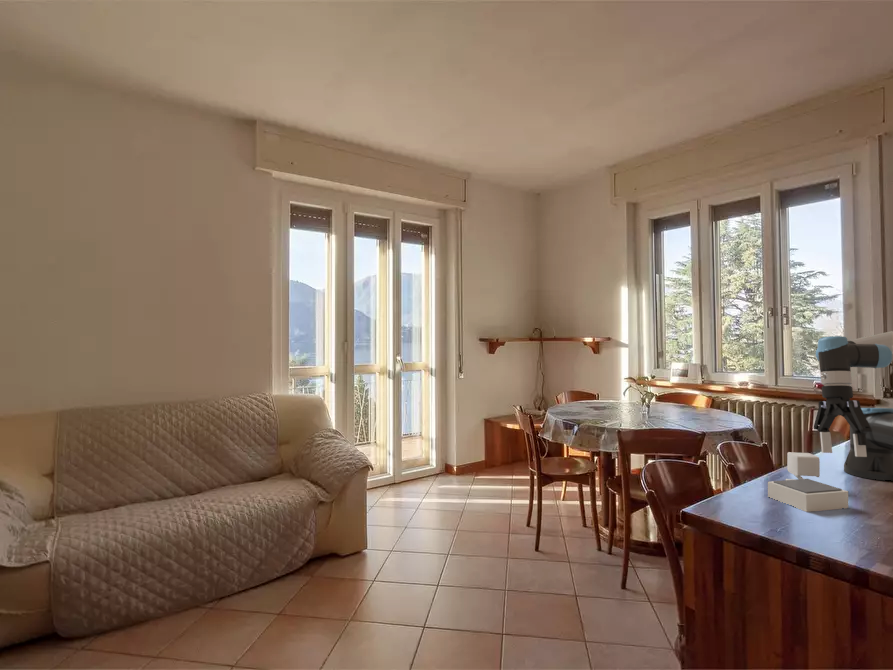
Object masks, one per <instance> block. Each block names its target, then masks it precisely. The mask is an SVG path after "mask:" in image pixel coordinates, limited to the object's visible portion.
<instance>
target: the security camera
mask: <svg viewBox="0 0 893 670" xmlns="http://www.w3.org/2000/svg"><path fill="white" fill-rule="evenodd" d="M786 456H787V458H786V459H787V465H786V466H787V471H788V473H790V474H792V475H794V476H795V477H796V478H795V479H794V478H785V480H796V479H804V477H816V478H820V474H821V473H820V471H821V470H820V467H821V466H820V465H821V464H820V463H821V462H820V457H819V456H817V455H815V454H812V453H809V452H793V451H791V452H790V451H788V452H787V455H786ZM802 476H803V477H802Z"/></svg>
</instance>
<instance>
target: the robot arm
mask: <svg viewBox="0 0 893 670" xmlns="http://www.w3.org/2000/svg"><path fill="white" fill-rule="evenodd" d="M815 357H816V360H817V361H818V363H819V371H820V383H821V385H822V386H821V397H822V398H824V399H826V401H825V400H823V401H822V400H819V401H818V408H817V413H816V416H815V421H814V422H813V423H814V424H813V429H814V430H817V431H818V433H819V441H820V445H821V446H820V448H821V453H822V454H823V453H826V454H827V453H828V454H832V453H833V446H832V437H831V431H830V428H831V427H832V424H833V422H834V420H835V419H836V417H838V416H841V417H843V418H844V420H845V421H846V422H847V424H848V425H849V451H848V454H847V457H845V461H844V463H843V471H844V473H846V474H849V475H853V476H854V477H855V476H856V477H859V478H863V479H869V480H875V479H876V480H877V481H885V480H891V481H890V482H893V407H891V408H890V407H889V408H888V407H861V403H860V400H852V398H854V391H853V386H852V384H853V380H852V373H851V368H861V369H862V368H867V369H879V368H881V369H882V368H887V367H888V366H889V365H890V364H891V363H892V361H893V330H891V331H887V332H881V333H877V334H872V335H868V336H862V337H858V338H853V339H849V340H848V337H846V336H843V335H835V336H834V335H831V336H825V337H820V338H819V339H818V340H817V349H816V350H815Z"/></svg>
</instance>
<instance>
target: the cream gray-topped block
mask: <svg viewBox="0 0 893 670" xmlns="http://www.w3.org/2000/svg"><path fill="white" fill-rule="evenodd" d="M795 479H796V480H786V479H785V480H774V481H773V480H772V481H767V498H768V497H770V498H769V499H771V498H773V499H772V500H774V499H775V500H774V501H776V500H778V501H777V502H779V501H780V502H779V503H782V502H783V503H782V504H784V503H786V504H785V505H787V504H789V505H792V506H794V507H793V508H795V507H796V509H797V508H798V510H800V509H801V511H803V512H806V513H808V512H809V513H810V512H820V511H831V510H842V508H844V509H849V491H848V490H844V489H842V488H839V487H835V486H832V485H829V484H826V483H823V482H819V481H817V480H816V481H815V480H813V479H809V478H803V479H798V478H795ZM789 505H788V506H789ZM792 506H791V507H792Z"/></svg>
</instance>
